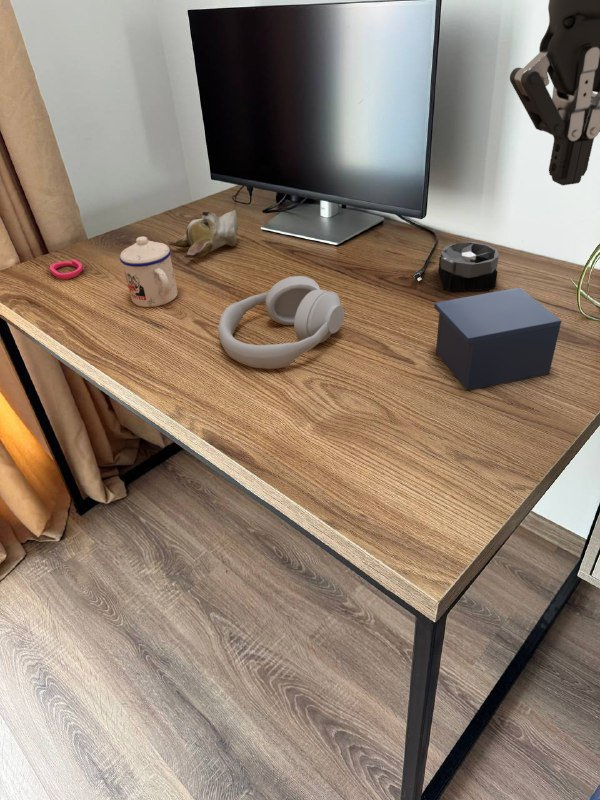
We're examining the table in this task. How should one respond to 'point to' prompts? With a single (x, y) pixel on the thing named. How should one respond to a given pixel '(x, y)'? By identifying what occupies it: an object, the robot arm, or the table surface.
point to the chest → (496, 356)
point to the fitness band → (66, 275)
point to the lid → (496, 315)
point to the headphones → (284, 322)
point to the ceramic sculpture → (208, 234)
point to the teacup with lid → (149, 273)
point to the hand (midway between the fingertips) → (564, 182)
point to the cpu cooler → (468, 266)
